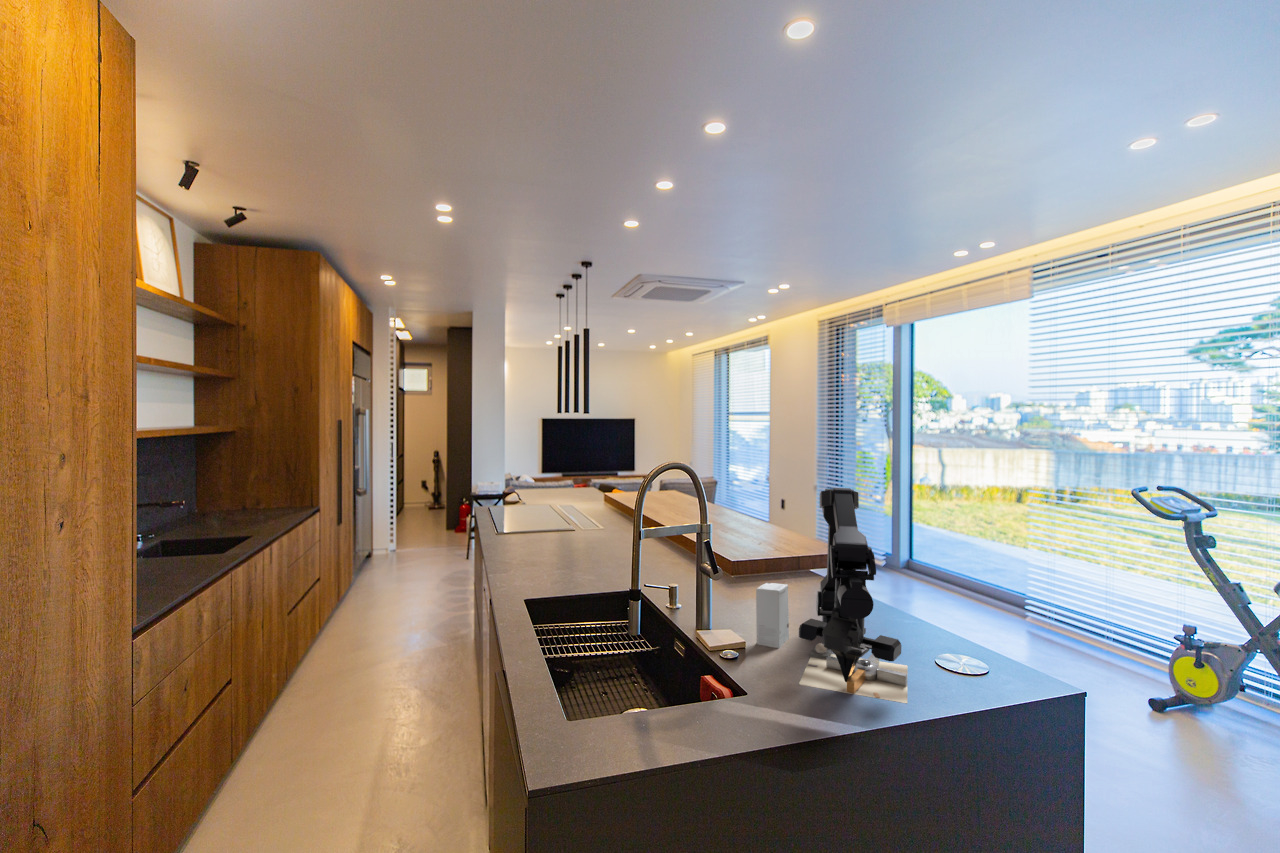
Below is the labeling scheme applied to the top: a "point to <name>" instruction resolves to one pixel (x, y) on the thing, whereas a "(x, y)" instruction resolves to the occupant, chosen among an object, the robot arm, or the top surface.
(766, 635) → the skincare box
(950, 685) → the top surface
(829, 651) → the board with rotating cross
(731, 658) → the top surface
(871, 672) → the capstan
